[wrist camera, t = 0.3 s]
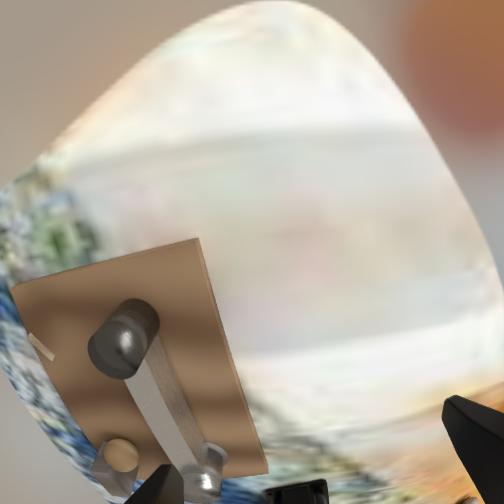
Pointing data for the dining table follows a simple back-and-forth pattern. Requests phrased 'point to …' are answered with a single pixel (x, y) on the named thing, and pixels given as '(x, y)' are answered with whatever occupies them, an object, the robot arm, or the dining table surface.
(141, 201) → the dining table surface
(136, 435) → the base
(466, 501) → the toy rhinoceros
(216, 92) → the dining table surface
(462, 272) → the dining table surface
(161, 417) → the lever
